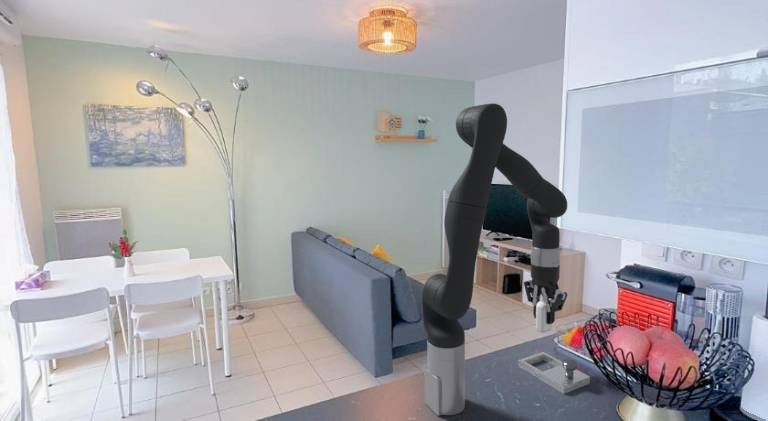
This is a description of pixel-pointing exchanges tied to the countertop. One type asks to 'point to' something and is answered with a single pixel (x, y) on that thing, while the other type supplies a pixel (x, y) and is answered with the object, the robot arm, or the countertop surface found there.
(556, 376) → the bolt plate
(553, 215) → the robot arm
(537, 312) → the eye dropper bottle
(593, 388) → the countertop surface
